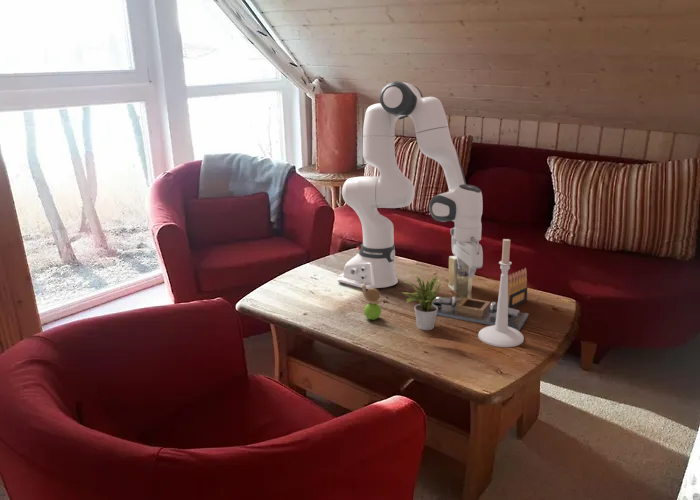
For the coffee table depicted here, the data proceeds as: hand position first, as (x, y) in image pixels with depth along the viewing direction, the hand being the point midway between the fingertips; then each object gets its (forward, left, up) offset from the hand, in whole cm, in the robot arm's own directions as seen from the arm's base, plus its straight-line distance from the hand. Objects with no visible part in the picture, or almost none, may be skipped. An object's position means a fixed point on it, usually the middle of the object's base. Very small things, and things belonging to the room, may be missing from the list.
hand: (465, 273), depth 196 cm
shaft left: (-3, -14, -8) cm, 16 cm away
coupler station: (+7, -12, -9) cm, 16 cm away
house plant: (-4, -26, -9) cm, 28 cm away
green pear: (-21, -30, -9) cm, 37 cm away
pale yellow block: (0, -1, -9) cm, 9 cm away
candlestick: (+19, -25, -9) cm, 33 cm away
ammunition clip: (+17, +2, -9) cm, 19 cm away
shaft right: (+17, -13, -8) cm, 23 cm away
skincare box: (-5, +8, -9) cm, 13 cm away
